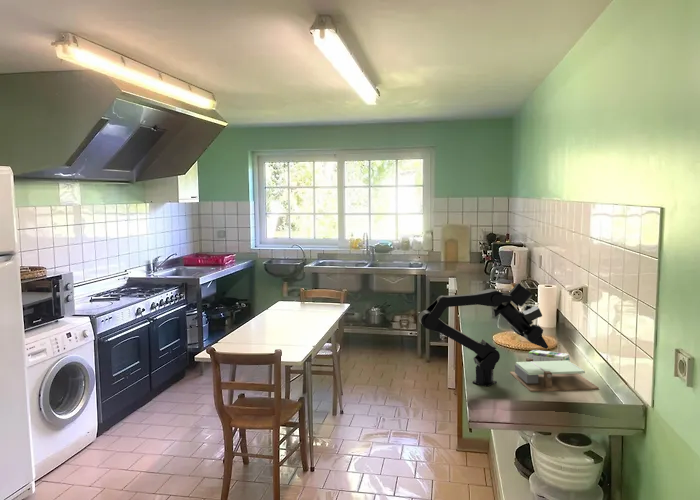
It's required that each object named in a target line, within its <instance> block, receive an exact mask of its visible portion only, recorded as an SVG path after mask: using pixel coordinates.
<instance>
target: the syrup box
mask: <svg viewBox="0 0 700 500" xmlns="http://www.w3.org/2000/svg"><path fill="white" fill-rule="evenodd" d="M527 358H532V359H533V361H563V360H568V361H570V362H571V360H570V353H565V352H564V353H563V352H555V351H548V350H539V349H532V350H530V351H529V352H528V357H527Z"/></svg>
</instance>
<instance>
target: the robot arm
mask: <svg viewBox="0 0 700 500" xmlns="http://www.w3.org/2000/svg"><path fill="white" fill-rule="evenodd" d="M532 297H533V294H532V293H531V291H529V290H528V289H527V288H525V287H524V286H523V285H521V283H516V284H515V285H514V286H513V288H512V289H511V290H510V291H508V292H500V291H499V290H497V289H495V288H487V289H483V290H480V291H478V292H475V293H465V294H463V293H462V294H454V295H453V294H452V295H450V294H449V295H439V296H438V297H437V298H436V299H435V301H433V302H432V303H431V304H430V305H429V306H428V307H426V309H425V310H422V311H420V313H419V315H418V321H419V323H420V325H422V326H423V328H424V329H427V330H429V331H432V332H435V333H440V334H442V335H443V336H446V337H447V338H449V339H451V340H453V341H454V342H457V343H458V344H459V345H462V346H463V347H466V349H468V350H471V352H472V351H473V352H474V353H475V354H476V355H475V356H474V357H473V361H474V363H475V365H476V366H475V380H472V384H476V385H480V386H484V387H489V386H492V385H494V384H496V383H498V382H497V380H494V369H495V367H496V365H497V363H498V362H499V361H500V358H501V354H500V352H499V350H497V347H496V345H493V344H492V343H489V342H487V341H486V340H485V339H483V338H482V339H481V341H479V340H476V339H473V338H471V337H470V336H468V335H466V334H465V333H464V332H461V331H460V330H458V329H456V328H454V327H453V326H452V325H451V326H450V325H449V324H447V323H445V322H444V321H443V320H442V319H440V318H441V316H442V315H443V313H444V312H445V310H446V309H447V308H451V307H463V306H476V305H478V306H486V307H491V311H492V312H491V315H492V316H493V317H497V316H499V315H500V316H501V317H502V318H503V320H505V321H506V322H507V324H509V325H510V330H512V331H513V332H514V333H515V334H517V335H518V336H520V337H523V338H524V339H525V340H526V341H528V342H529V343H530V344H534V345H536V346H539V347H540V348H542V349H543V348H544V349H546V350H547V349H548V348H549V345H548V343H547V342H546V340H545V339H544V337H543V333H544V329H543V328H542V327H541V325H538V324H533V321H535V320H536V319H538V318H542V317H543V314H542V312H541V310H540V307H538V306H534V305H532V306H531V305H529V304H527V305H525V304H526V303H527V302H528V301H529V300H530V299H531V298H532ZM524 305H525V306H524ZM523 306H524V308H523V309H524V310H523V312H522V311H520V310H519V309H517V307H523ZM493 307H494V308H493Z"/></svg>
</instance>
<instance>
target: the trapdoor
mask: <svg viewBox="0 0 700 500" xmlns="http://www.w3.org/2000/svg"><path fill="white" fill-rule="evenodd" d="M514 371H515V373H516V374H517V375H518V376H519V377H520V378H521V379H523V380H524V381H525V382H526V383H527V384H529V383H538V375H544V371H550V372H551V373H552V374H575V373H577V374H585V373H586V371H585V370H584V369H583V368H581V367H580V366H578V365H577V364H575V363H573V362H571V360H570V361H568V360H563V361H531V362H526V361H516V362H515V365H514Z"/></svg>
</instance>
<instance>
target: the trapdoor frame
mask: <svg viewBox="0 0 700 500" xmlns="http://www.w3.org/2000/svg"><path fill="white" fill-rule="evenodd" d="M525 359H526V360H525V362H531V361H533V359H532V358H529V357H526V358H525ZM509 373H510V375H511V376H512V377H514V378H515V379H516V380H517V381H518V382H519V383H520V384H521V385H522V386H524V387H525V389H527V390H528V391H529V393H530V392H534V393H535V392H555V391H557V392H559V391H583V390H584V391H586V390H587V391H588V390H599V389H600V388H599V386H597V385H596V384H594V383H593V382H591V381H589V380H588V379H587V378H585V377H584V376H582V375H581V374H580V373H575V374H552V373H551V372H550V371H544V375H538V383H529V384H527V383H526V382H525V381H524V380H523V379H521V378H520V377H519V376H518V375H517V374H516V373H515V370H514V371H509Z"/></svg>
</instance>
